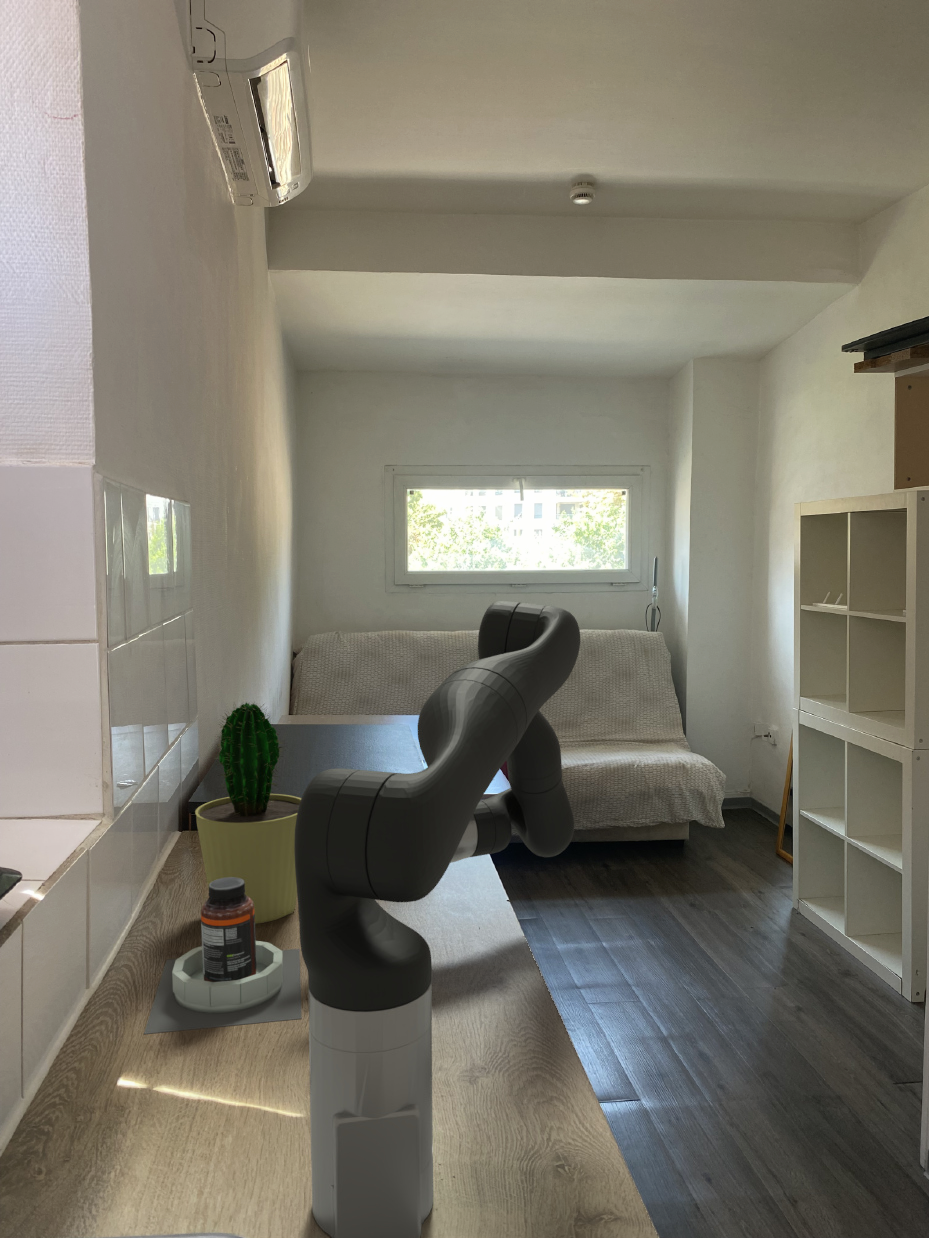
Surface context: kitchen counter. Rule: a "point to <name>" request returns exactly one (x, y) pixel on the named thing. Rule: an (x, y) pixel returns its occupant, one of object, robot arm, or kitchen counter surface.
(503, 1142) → the kitchen counter surface
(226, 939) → the supplement bottle
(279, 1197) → the kitchen counter surface
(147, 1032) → the mat
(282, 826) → the potted cactus
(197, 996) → the bowl
